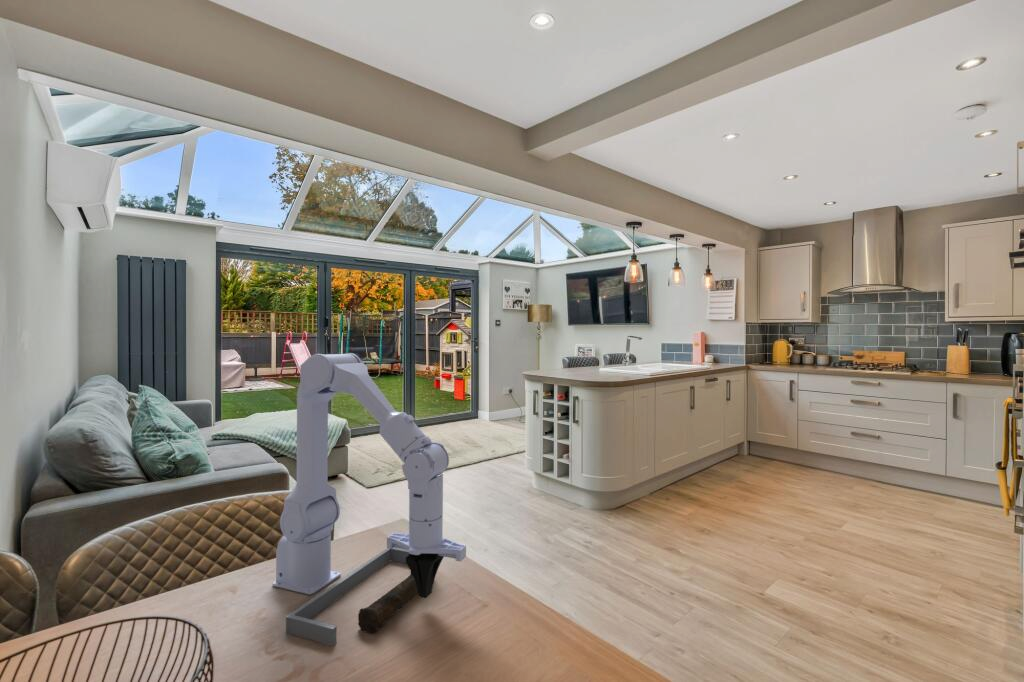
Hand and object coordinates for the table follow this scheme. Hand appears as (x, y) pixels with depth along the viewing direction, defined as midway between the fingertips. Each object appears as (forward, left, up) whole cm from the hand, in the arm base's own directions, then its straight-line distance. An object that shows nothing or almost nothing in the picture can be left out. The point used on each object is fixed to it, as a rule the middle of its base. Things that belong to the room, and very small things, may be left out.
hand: (425, 594), depth 82 cm
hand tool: (-5, 0, -3) cm, 6 cm away
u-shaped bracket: (-12, 0, -2) cm, 12 cm away
